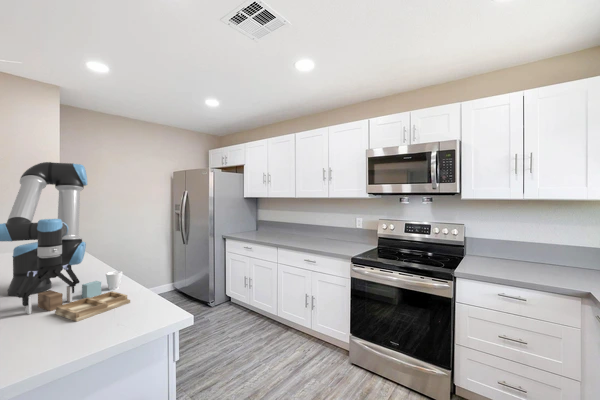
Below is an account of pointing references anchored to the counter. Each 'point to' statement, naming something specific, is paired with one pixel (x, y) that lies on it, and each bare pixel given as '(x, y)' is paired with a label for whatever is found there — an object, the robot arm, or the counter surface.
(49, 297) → the brown wooden block
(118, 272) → the cup
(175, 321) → the counter surface
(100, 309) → the tray
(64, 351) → the counter surface
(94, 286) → the pale teal block
